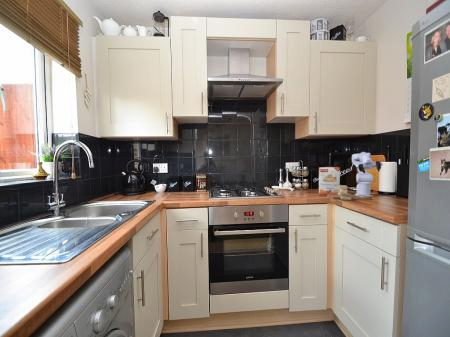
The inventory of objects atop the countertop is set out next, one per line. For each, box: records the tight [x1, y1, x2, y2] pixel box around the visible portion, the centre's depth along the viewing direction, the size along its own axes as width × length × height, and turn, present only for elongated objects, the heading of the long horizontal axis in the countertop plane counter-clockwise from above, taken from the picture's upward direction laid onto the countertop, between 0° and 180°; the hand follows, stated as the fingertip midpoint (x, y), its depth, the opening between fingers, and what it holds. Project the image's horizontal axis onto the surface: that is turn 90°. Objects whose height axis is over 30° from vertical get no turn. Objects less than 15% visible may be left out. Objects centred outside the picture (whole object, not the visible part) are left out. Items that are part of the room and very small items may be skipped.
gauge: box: [338, 184, 352, 201], centre depth 147 cm, size 9×6×8 cm, turn 174°
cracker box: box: [318, 166, 341, 195], centre depth 169 cm, size 14×6×21 cm, turn 76°
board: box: [326, 194, 373, 201], centre depth 150 cm, size 12×24×2 cm, turn 84°
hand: (371, 171), depth 139 cm, fingers open, 7 cm apart
